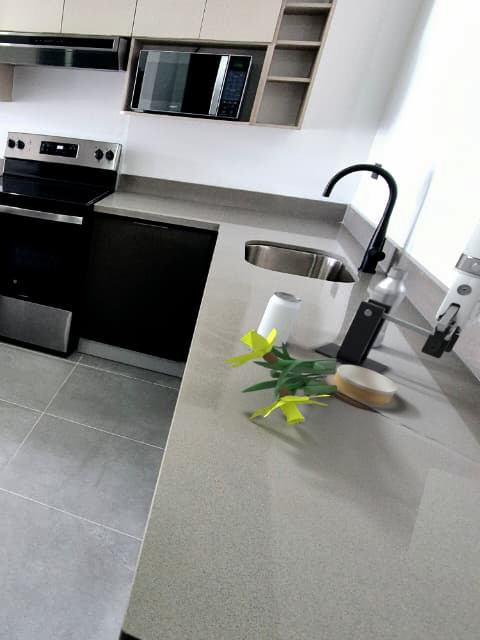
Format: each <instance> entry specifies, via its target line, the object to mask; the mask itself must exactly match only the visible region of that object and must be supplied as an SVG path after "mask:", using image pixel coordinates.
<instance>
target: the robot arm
mask: <svg viewBox="0 0 480 640" xmlns="http://www.w3.org/2000/svg"><path fill="white" fill-rule="evenodd" d="M470 235H471V236H470V237H469V240H468V241H467V243H466V245H465V247H464V249H463V251H462V253H461V254H460V256H459V258H458V260H457V262H456V264H455V265H454V267H453V270H454V271H455V272H456V273H458V274H457V276H456V277H455V279H454V281H453V282H452V285H451V286H450V287H449V290H448V291H447V293H446V295H445V296H444V298H443V300H442V302H441V304H440V306H439V308H438V310H437V312H436V315H435V320H436V321H437V323H436V324H435V326H434V328H433V329H432V331H431V334H430V335H429V337H427V339H426V340H425V342H424V344H423V346H422V348H421V350H420V351H421V353H422V354H426V355H428V356H431V357H433V358H436V359H441V358H442V356H443V355H444V353H452V350H453V349H454V347H455V345H456V343H457V341H458V340H459V338H460V337H461V333H462V331H463V330H465V329H468V328H470V327H473V326H474V325H475V324H476V323H477V322H478V321H479V319H480V219H479V220H478V223H477V224H476V226H475V228H474V229H473V231H472V234H470ZM451 336H452V340H451V341H450V340H449V338H450V337H451Z"/></svg>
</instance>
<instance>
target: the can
mask: <svg viewBox="0 0 480 640" xmlns="http://www.w3.org/2000/svg"><path fill="white" fill-rule="evenodd" d="M273 293H274V294H273V295H272V296H271V297H270V298H269V301H268V303H267V306H266V307H265V311H264V313H263V316H262V319H261V321H260V323H259V326H258V328H257V331H256V333H258V334H260V335H261V336H263V337H264V338H265V339H266V340H267V338H268V337H269V335H270V333H271V332H272V330H273V329H274V328H275V330H276V335H275V337H274V338H273V340H274V339H275V338H276V337H277V336H278V335H279V334H280V333H281V332H282V331H283V332H282V333H281V334H280V336H279V337H278V338H277V340H276V341H275V343H274V345H273V347H278V348H280V347H281V348H282V342H283V343H284V344H285V345H286V343H287V341H288V339H289V336H290V334H291V332H292V329H293V327H294V325H295V322H296V320H297V317H298V316H299V313H300V310H301V307H302V306H301V305H302V304H301V302H302V299H301V298H300V297H298V296H297V295H294V294H291V293H288V292H283V291H275V292H273ZM291 318H292V319H291ZM290 319H291V320H290ZM288 322H289V323H288ZM287 323H288V324H287ZM285 327H286V328H285ZM273 340H272V341H273Z"/></svg>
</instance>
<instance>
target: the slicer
mask: <svg viewBox="0 0 480 640" xmlns="http://www.w3.org/2000/svg"><path fill="white" fill-rule="evenodd" d="M371 303H373V304H371ZM374 304H375V305H374ZM377 305H378V306H377ZM391 308H392V306H391V305H388V304H385V303H382V302H379V301H376V300H373V299H371V298H368V300H367V301H365V300H362V301H361V302H360V304H359V306H358V308H357V310H356V312H355V315H354V317H353V319H352V321H351V323H350V325H349V327H348V329H347V331H346V334H345V335H344V338H343V340H342V342H341V344H340V345H339V344H336V343H333V342H331V343H327V344H325V345H323V346H321V347H318V348H315V349H314V353H317V354H319V355H322V356H324V357H325V358H335V359H337V360H336V361H335V362H336V363H339V364H340V365H354V366H359V367H363V368H366V369H369V370H372V371H375V372H377V373H379V374H380V373H381V372H383V371H385V370H387V368H388V367H389V366H388V365H385V364H383V363H381V362H378V361H376V360H374V359H372V358H369V354H370V353H371V351H372V349H373V345H374V343H375V341H376V339H377V337H378V335H379V333H380V331H381V329H382V327H383V325H384V323H385V321H386V319H384V318H381V317H382V315H383V313H384V312H385V313H387V314H389V313H390V311H391Z"/></svg>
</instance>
